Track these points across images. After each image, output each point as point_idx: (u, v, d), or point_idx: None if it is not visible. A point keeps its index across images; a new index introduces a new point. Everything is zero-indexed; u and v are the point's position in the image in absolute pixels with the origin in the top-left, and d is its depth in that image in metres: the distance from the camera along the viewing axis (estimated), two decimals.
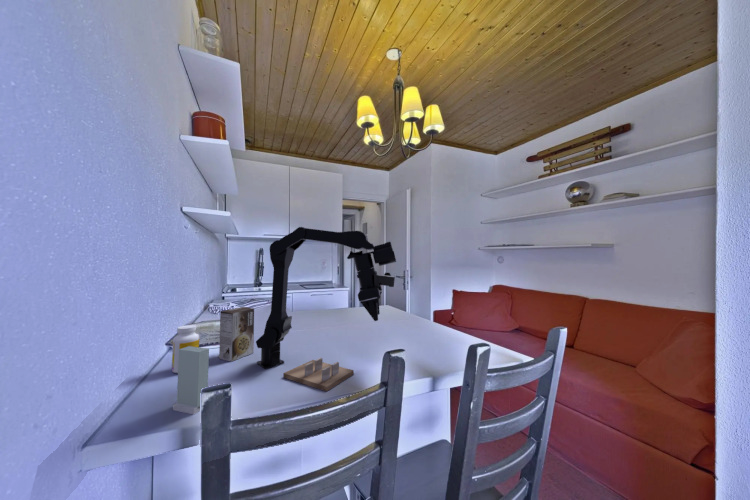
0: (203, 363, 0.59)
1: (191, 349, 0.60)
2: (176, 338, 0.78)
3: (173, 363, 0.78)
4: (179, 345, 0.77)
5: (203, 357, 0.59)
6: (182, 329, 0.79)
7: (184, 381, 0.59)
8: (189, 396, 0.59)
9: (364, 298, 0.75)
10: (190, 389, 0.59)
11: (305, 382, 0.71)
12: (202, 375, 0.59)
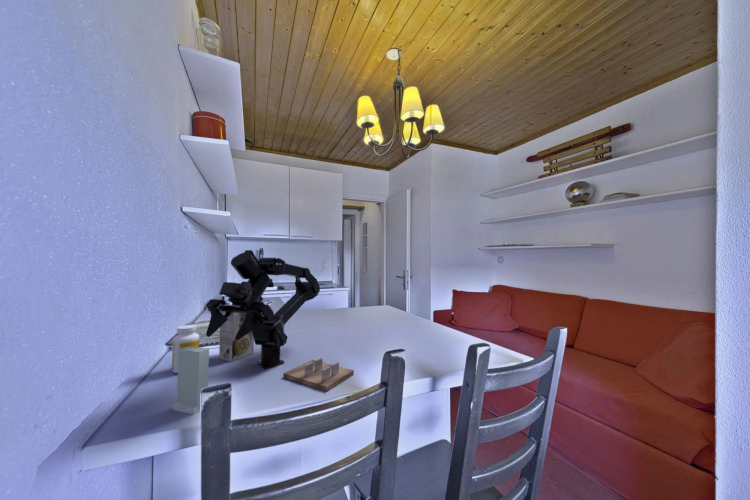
0: (203, 363, 0.59)
1: (191, 349, 0.60)
2: (176, 338, 0.78)
3: (173, 363, 0.78)
4: (179, 345, 0.77)
5: (203, 357, 0.59)
6: (182, 329, 0.79)
7: (184, 381, 0.59)
8: (189, 396, 0.59)
9: None
10: (190, 389, 0.59)
11: (305, 382, 0.71)
12: (202, 375, 0.59)
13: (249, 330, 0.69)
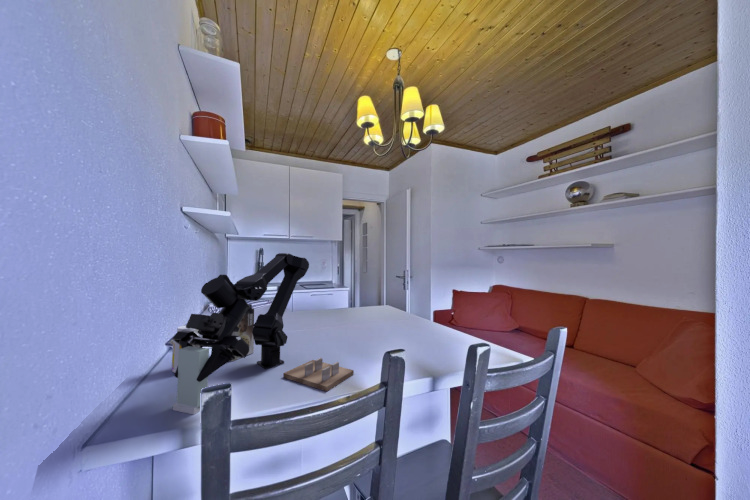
0: (203, 363, 0.59)
1: (191, 349, 0.60)
2: None
3: (173, 363, 0.78)
4: (179, 345, 0.77)
5: (203, 357, 0.59)
6: (182, 329, 0.79)
7: (183, 381, 0.59)
8: (189, 396, 0.58)
9: None
10: (190, 389, 0.59)
11: (305, 382, 0.71)
12: None
13: (214, 369, 0.61)
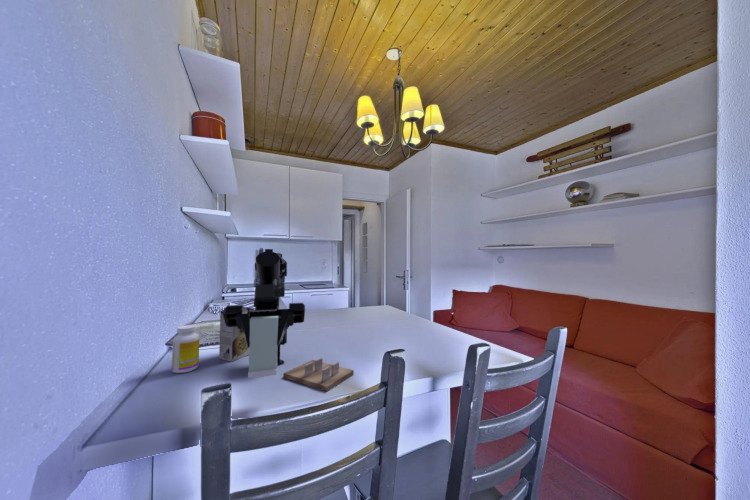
0: None
1: (262, 317, 0.63)
2: (176, 338, 0.78)
3: (173, 363, 0.78)
4: (179, 345, 0.77)
5: None
6: (182, 329, 0.79)
7: (258, 348, 0.61)
8: (265, 361, 0.62)
9: None
10: (266, 354, 0.62)
11: (305, 382, 0.71)
12: None
13: (283, 333, 0.66)
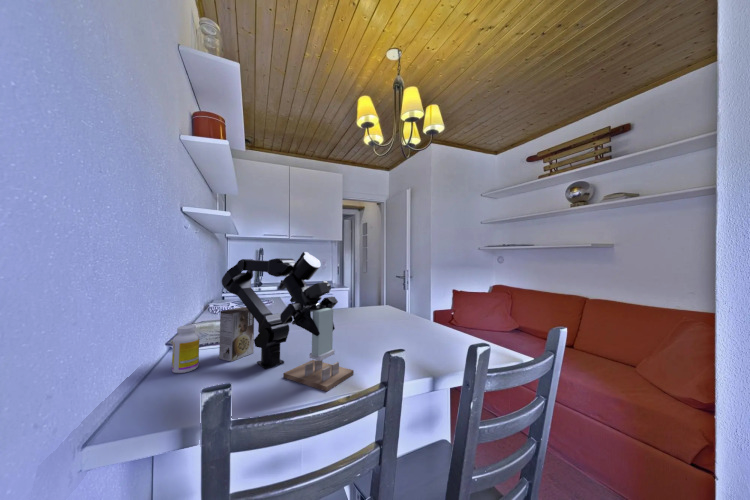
0: None
1: (322, 310, 0.75)
2: (176, 338, 0.78)
3: (173, 363, 0.78)
4: (179, 345, 0.77)
5: None
6: (182, 329, 0.79)
7: (323, 335, 0.74)
8: (327, 345, 0.75)
9: (284, 319, 0.70)
10: (327, 339, 0.75)
11: (305, 382, 0.71)
12: None
13: None
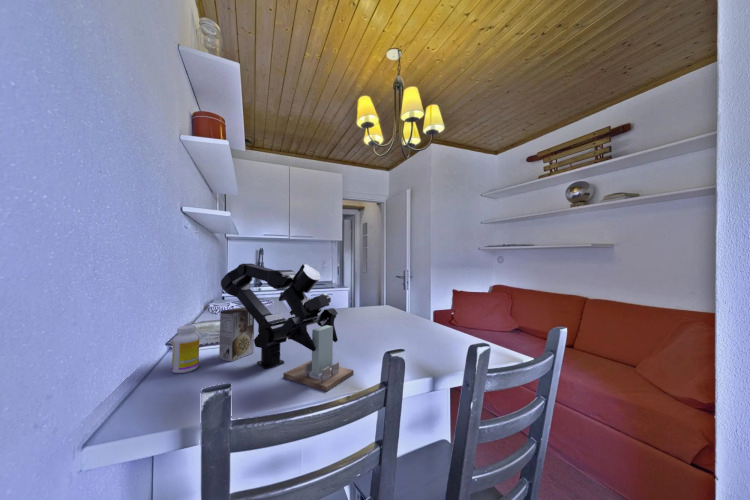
0: None
1: (322, 328, 0.75)
2: (176, 338, 0.78)
3: (173, 363, 0.78)
4: (179, 345, 0.77)
5: None
6: (182, 329, 0.79)
7: (323, 354, 0.74)
8: (327, 363, 0.75)
9: (284, 333, 0.70)
10: (327, 357, 0.75)
11: (305, 382, 0.71)
12: None
13: None
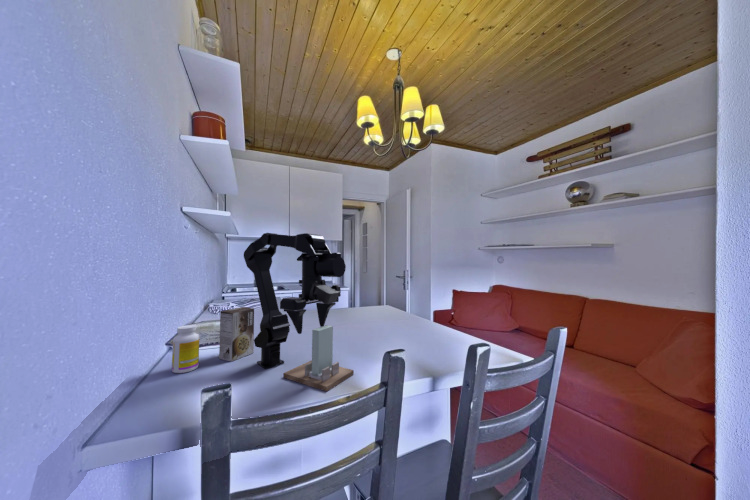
0: None
1: (322, 328, 0.75)
2: (176, 338, 0.78)
3: (173, 363, 0.78)
4: (179, 345, 0.77)
5: None
6: (182, 329, 0.79)
7: (323, 354, 0.74)
8: (327, 363, 0.75)
9: (283, 307, 0.70)
10: (327, 357, 0.75)
11: (305, 382, 0.71)
12: None
13: None
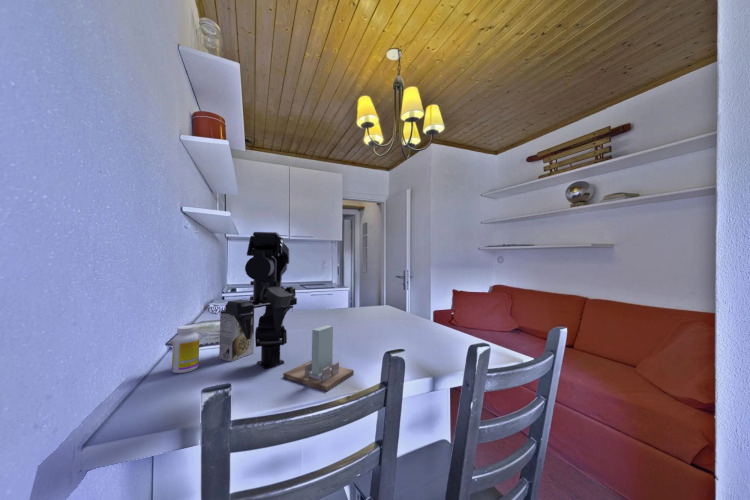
0: None
1: (322, 328, 0.75)
2: (176, 338, 0.78)
3: (173, 363, 0.78)
4: (179, 345, 0.77)
5: None
6: (182, 329, 0.79)
7: (323, 354, 0.74)
8: (327, 363, 0.75)
9: (228, 311, 0.65)
10: (327, 357, 0.75)
11: (305, 382, 0.71)
12: None
13: None
